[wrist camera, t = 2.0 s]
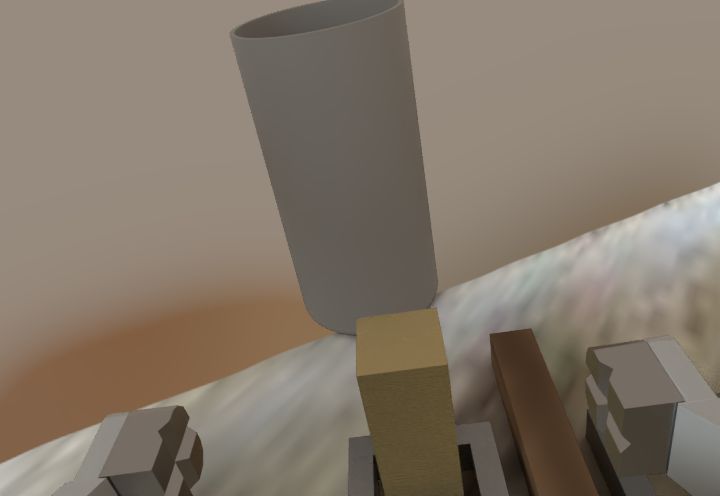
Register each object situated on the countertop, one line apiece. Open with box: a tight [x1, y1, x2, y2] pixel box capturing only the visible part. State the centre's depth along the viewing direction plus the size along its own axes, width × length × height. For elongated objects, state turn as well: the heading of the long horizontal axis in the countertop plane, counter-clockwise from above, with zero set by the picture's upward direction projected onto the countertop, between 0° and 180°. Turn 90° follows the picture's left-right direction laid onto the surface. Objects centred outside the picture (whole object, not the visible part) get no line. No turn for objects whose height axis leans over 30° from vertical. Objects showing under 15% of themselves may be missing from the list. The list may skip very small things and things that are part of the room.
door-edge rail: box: [490, 329, 599, 496], centre depth 33 cm, size 3×22×3 cm, turn 0°
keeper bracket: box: [586, 393, 720, 496], centre depth 32 cm, size 9×9×2 cm
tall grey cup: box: [230, 0, 438, 335], centre depth 47 cm, size 12×12×25 cm
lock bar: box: [356, 308, 464, 496], centre depth 30 cm, size 4×4×14 cm
